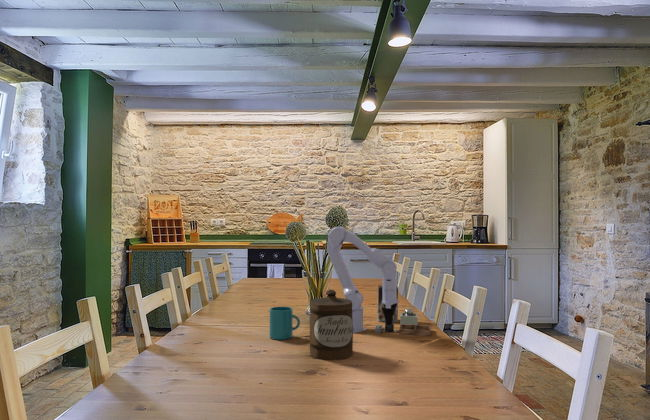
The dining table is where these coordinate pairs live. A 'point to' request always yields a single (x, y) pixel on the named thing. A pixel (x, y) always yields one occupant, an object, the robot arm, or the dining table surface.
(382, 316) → the coffee box
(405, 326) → the trough tray
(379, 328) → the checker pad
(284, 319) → the cup
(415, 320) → the cup
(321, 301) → the wooden container
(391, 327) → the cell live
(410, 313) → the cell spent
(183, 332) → the dining table surface
